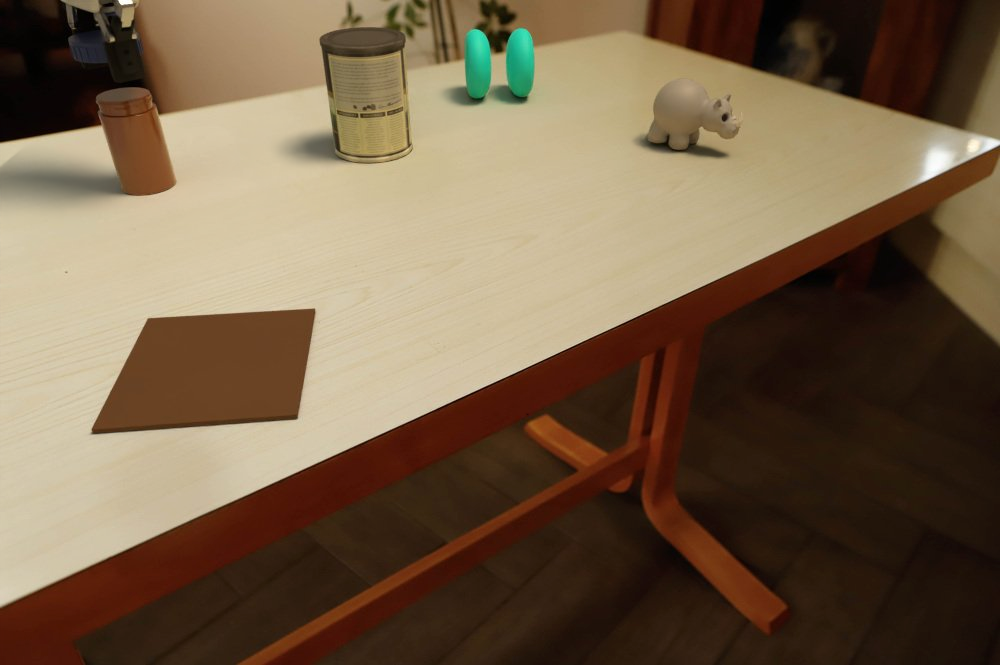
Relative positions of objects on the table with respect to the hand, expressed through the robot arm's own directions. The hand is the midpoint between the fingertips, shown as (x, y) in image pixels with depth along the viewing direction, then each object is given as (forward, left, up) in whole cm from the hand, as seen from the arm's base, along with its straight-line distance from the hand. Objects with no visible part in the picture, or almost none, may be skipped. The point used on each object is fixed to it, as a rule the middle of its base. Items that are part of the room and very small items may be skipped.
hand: (113, 71), depth 78 cm
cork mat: (+15, -37, -13) cm, 42 cm away
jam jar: (0, 0, -13) cm, 13 cm away
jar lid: (0, 0, +3) cm, 3 cm away
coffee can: (+26, +9, -13) cm, 31 cm away
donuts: (+45, +30, -13) cm, 56 cm away
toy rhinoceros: (+68, +5, -13) cm, 70 cm away
